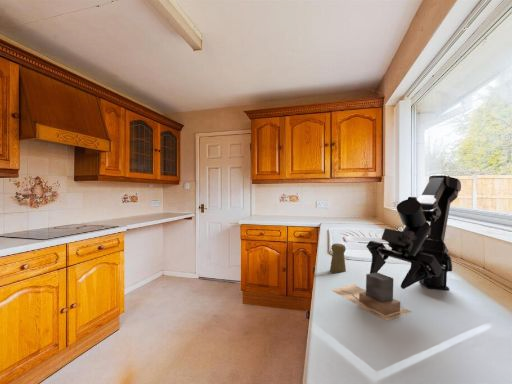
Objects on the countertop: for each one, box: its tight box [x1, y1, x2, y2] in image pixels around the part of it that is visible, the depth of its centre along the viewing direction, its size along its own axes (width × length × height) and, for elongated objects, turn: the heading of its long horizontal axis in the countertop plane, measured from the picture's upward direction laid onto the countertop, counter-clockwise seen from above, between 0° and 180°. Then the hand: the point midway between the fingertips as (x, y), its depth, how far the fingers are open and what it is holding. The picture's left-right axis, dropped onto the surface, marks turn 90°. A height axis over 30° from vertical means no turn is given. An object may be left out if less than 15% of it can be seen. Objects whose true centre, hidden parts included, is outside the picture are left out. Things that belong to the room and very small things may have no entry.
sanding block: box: [359, 272, 401, 317], centre depth 66 cm, size 8×6×8 cm
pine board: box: [330, 284, 413, 321], centre depth 70 cm, size 19×10×1 cm, turn 26°
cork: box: [329, 243, 347, 275], centre depth 96 cm, size 6×6×11 cm
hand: (385, 281), depth 67 cm, fingers open, 9 cm apart
